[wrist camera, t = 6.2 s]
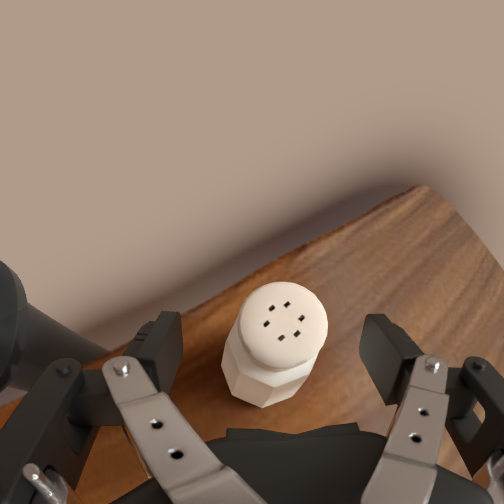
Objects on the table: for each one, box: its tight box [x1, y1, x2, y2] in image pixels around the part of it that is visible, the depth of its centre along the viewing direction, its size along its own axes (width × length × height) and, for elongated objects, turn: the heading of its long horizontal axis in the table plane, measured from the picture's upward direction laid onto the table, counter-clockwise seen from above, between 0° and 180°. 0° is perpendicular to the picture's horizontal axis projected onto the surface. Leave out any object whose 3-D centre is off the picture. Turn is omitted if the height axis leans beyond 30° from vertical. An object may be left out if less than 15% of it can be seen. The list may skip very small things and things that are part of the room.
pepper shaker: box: [221, 282, 328, 408], centre depth 13 cm, size 5×5×11 cm
